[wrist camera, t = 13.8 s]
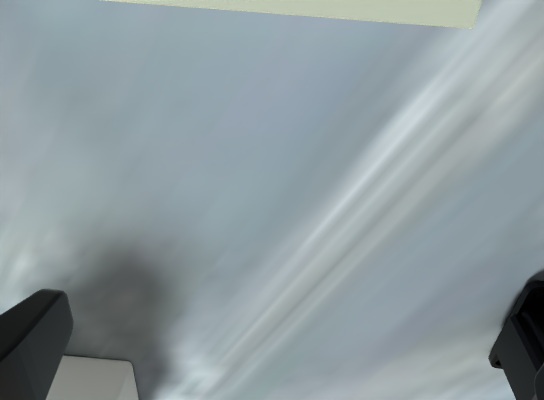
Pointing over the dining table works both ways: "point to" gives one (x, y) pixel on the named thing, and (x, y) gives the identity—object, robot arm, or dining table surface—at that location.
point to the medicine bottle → (93, 380)
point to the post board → (351, 9)
